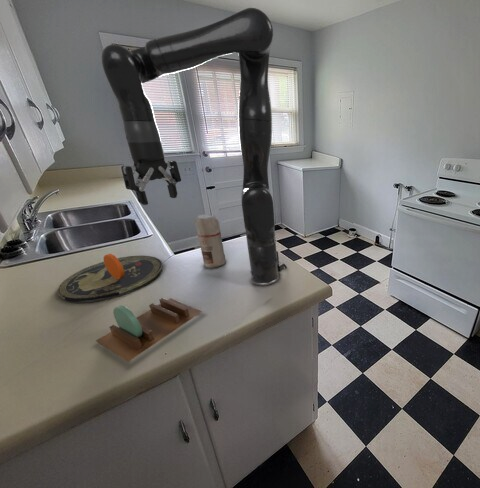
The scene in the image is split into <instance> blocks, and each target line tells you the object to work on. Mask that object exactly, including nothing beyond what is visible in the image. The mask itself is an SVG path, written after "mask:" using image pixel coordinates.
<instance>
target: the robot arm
mask: <svg viewBox="0 0 480 488" xmlns="http://www.w3.org/2000/svg"><path fill="white" fill-rule="evenodd" d="M273 40H274V27H273V24H272V22H271V19H270V18H269V17H268V15H267V14H266V13H265V12H264V11H262V10H261V9H259V8H256V7H246V8H244V9H242V10H239V11H238V12H236V13H233V14H231V15H229V16H227V17H225V18H223V19H221V20H219V21H216V22H213V23H210V24H207V25H205V26H202V27H198V28H196V29H195V28H194V29H191V30H188V31H183V32H179V33H175V34H174V33H173V34H169V35H166V36H162V37H157V38H153V39H150V40H148V41H147V42H146V43H145V46H142V47H138V48H136V49H131V50H129V49H128V48H126V47H124V46H122V45H119V44H109V45H107V46H105V47H104V48H103V50H102V52H101V64H102V65H101V66H102V69H103V72H104V75H105V77H106V80H107V81H108V84H109V86H110V89H111V90H112V92H113V95H114V97H115V98H116V100H117V104H118V108H119V112H120V115H121V120H122V124H123V130H124V134H125V139H126V141H127V145H128V148H129V152H130V156H131V159H132V161H133V165H130V166H129V165H122V166H121V167H120V169H121V173H122V177H123V182H124V186H125V189H126V190H130V191H134V193H135V195H136V198H137V202H138V203H140V204H141V205H142V206H146V205H147V206H148V205H149V202H148V198H147V194H146V191H145V188H146V185H147V184H149V181H155V180H162V181H164V182H165V183H166V184H167V190H168V195H169V197H170V199H176V198H177V196H178V190H177V183H180V182H182V177H181V173H180V170H179V166H178V163H177V161H176V160H168V161H166V160H165V152H164V147H163V142H162V139H161V135H160V131H159V128H158V125H157V122H156V118H155V114H154V109H153V106H152V102H151V100H150V99H149V98H148V96H147V95H146V92H145V91H144V87H143V84H146V83H148V82H151V81H153V80H156V79H158V78H161V77H162V76H165V75H169V74H170V75H171V74H176V73H179V72H183V71H187V70H191V69H194V68H196V67H198V66H200V65H203V64H205V63H207V62H209V61H211V60H214V59H217V58H219V57H223V56H226V55H231V54H238V62H239V70H240V71H239V73H240V83H239V85H240V86H239V93H238V94H239V95H238V106H237V107H238V108H237V109H238V110H237V112H238V113H237V118H238V119H237V121H238V123H237V124H238V137H239V146H240V153H241V158H242V165H243V176H242V177H243V178H242V179H243V180H242V188H241V189H242V190H241V210H242V218H243V225H244V230H245V235H246V236H245V237H246V238H245V239H246V243H247V244H246V245H247V246H246V247H247V253H248V260H249V267H250V268H249V272H250V275H251V276H250V277H251V283H252V284H254V285H255V286H261V287H265V286H271V285H273V284H275V283H277V282H278V280H279V278H280V275H281V272H282V271H284V269H288V267H287V265H286V264H285V263H283V262H280V259H279V258H280V256H279V251H278V250H277V241H276V230H275V227H276V225H275V224H276V222H275V208H274V206H275V205H274V199H273V196H272V193H271V190H270V182H269V160H270V155H271V149H272V147H271V146H272V139H273V113H272V104H271V97H270V90H269V65H270V64H269V63H270V54H271V49H272V44H273ZM167 169H168V170H169V172H168V171H167ZM135 173H137V176H136V178H135V176H134V175H135ZM169 173H170V174H169Z"/></svg>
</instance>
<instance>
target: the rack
mask: <svg viewBox="0 0 480 488" xmlns="http://www.w3.org/2000/svg"><path fill="white" fill-rule="evenodd" d="M202 312H203V311H202V310H200V309H197V308H196V307H193V306H191V305H188V304H185V303H183V302H181V301H178V300H176V299H174V298H171V297H170V298H169V299H166V298H163V297H161V298H159V304H155V303H154V302H152V303H150V304H149V310H147V311H145V312H144V313H142V314H140V315H138V316H136V318H137V319H138V321H139V323H140V325H141V328H142V336H141V337H139V338H137V337H135V336H133V335H131V334H129V333H128V332H126V331H124V330H122V329H121V328H120V327H119V326H117V325H116V324H112V325H109V330H110V332H108V333H106V334H104V335H102V336H101V337H98V338H97V339H96V340H95V342H97V343H98V344H99V345H101V346H102V347H104V348H106V349H108V350H109V351H111V352H112V353H114V354H116V355H117V356H118V357H120V358H122V359H123V360H125V361H126V362H130V361H132V360H133V359H135V358H136V357H138V356H139V355H140V354H142V353H144V352H145V351H146V350H148V349H149V348H151V347H153V346H154V345H156V344H157V343H158V342H160V341H161V340H163V339H164V338H166V337H167V336H169V335H170V334H172V333H173V332H175V331H176V330H177V329H179V328H181V327H182V326H183V325H185V324H186V323H188V322H190V320H192V319H194V318H195V317H197V316H198V315H200V314H201V313H202Z"/></svg>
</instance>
